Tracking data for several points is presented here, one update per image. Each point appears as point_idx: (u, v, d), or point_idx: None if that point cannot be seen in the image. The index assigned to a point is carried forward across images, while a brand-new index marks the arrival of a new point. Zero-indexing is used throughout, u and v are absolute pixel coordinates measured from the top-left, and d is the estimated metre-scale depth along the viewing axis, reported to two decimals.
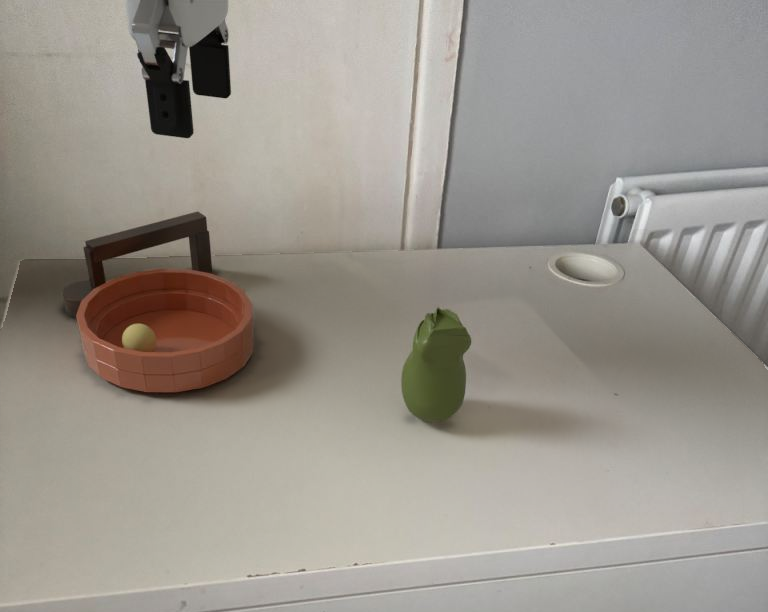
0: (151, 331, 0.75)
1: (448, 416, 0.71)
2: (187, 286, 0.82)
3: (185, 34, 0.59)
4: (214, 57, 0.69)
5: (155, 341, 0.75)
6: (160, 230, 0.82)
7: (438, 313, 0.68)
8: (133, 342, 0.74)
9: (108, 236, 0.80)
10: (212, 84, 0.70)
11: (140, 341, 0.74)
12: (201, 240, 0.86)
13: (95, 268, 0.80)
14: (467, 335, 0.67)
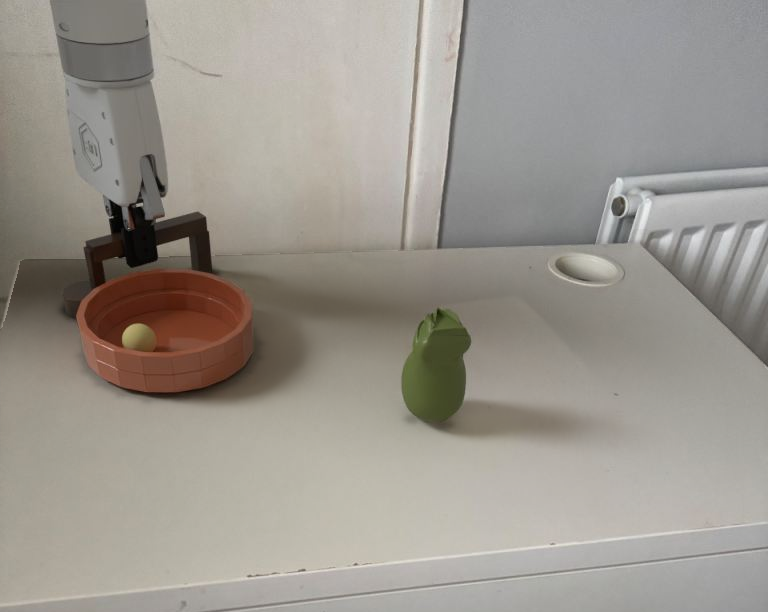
0: (151, 331, 0.75)
1: (448, 416, 0.71)
2: (187, 286, 0.82)
3: (167, 189, 0.76)
4: None
5: (155, 341, 0.75)
6: (160, 230, 0.82)
7: (438, 313, 0.68)
8: (133, 342, 0.74)
9: (108, 236, 0.80)
10: None
11: (140, 341, 0.74)
12: (201, 240, 0.86)
13: (95, 268, 0.80)
14: (467, 335, 0.67)
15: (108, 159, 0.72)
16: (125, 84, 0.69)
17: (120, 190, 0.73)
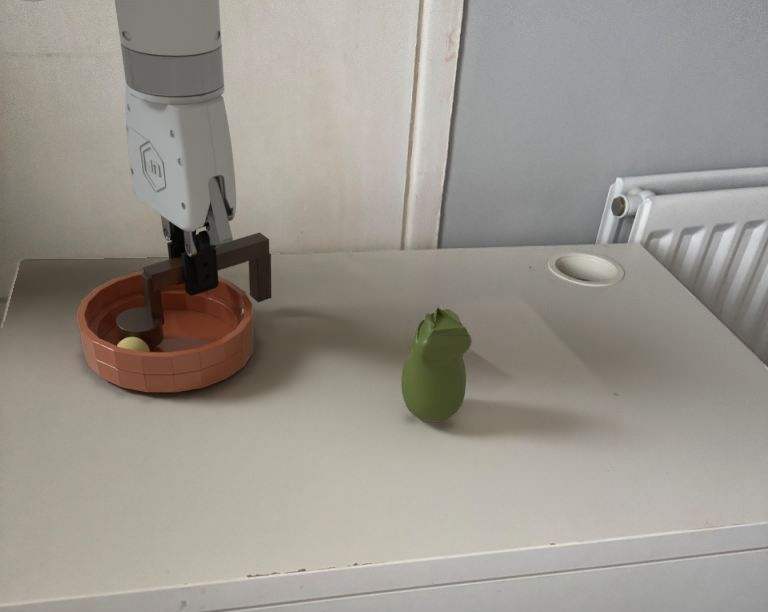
0: None
1: (448, 416, 0.71)
2: None
3: (235, 212, 0.70)
4: None
5: None
6: (222, 255, 0.76)
7: (438, 313, 0.68)
8: None
9: (167, 261, 0.74)
10: None
11: None
12: (262, 263, 0.80)
13: (153, 297, 0.74)
14: (467, 335, 0.67)
15: (174, 181, 0.66)
16: (196, 99, 0.63)
17: (186, 214, 0.67)
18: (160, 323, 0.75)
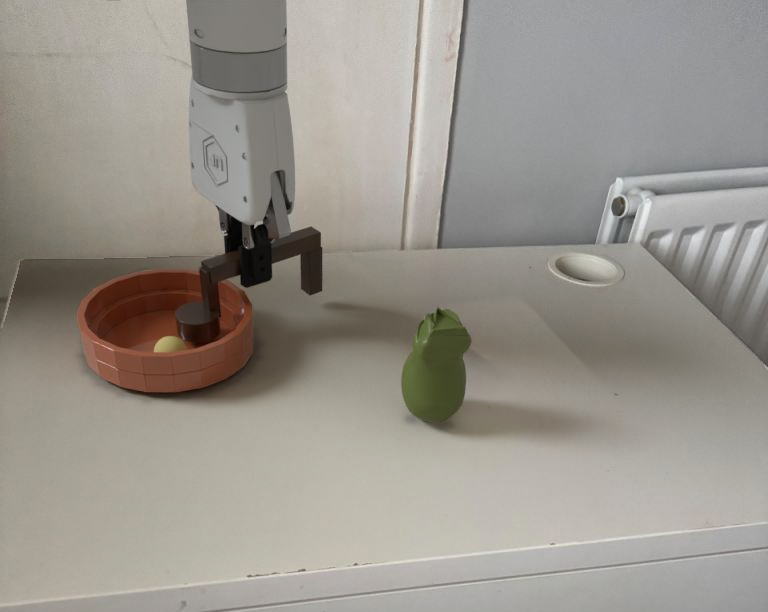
0: (172, 348, 0.73)
1: (448, 416, 0.71)
2: (187, 286, 0.82)
3: (293, 206, 0.71)
4: None
5: None
6: (276, 248, 0.78)
7: (438, 313, 0.68)
8: (154, 350, 0.74)
9: (224, 255, 0.76)
10: None
11: None
12: (314, 257, 0.81)
13: (211, 290, 0.76)
14: (467, 335, 0.67)
15: (237, 175, 0.68)
16: (262, 95, 0.65)
17: (248, 207, 0.69)
18: (217, 316, 0.77)
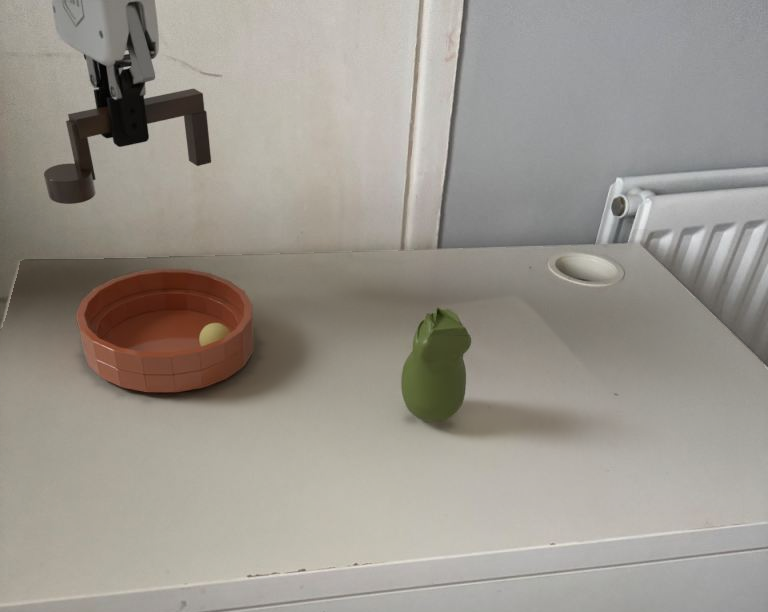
0: None
1: (448, 416, 0.71)
2: (187, 286, 0.82)
3: (157, 47, 0.68)
4: None
5: None
6: (152, 106, 0.74)
7: (438, 313, 0.68)
8: None
9: (94, 110, 0.72)
10: None
11: None
12: (198, 121, 0.78)
13: (80, 146, 0.72)
14: (467, 335, 0.67)
15: (91, 6, 0.64)
16: None
17: (104, 43, 0.65)
18: (89, 175, 0.73)
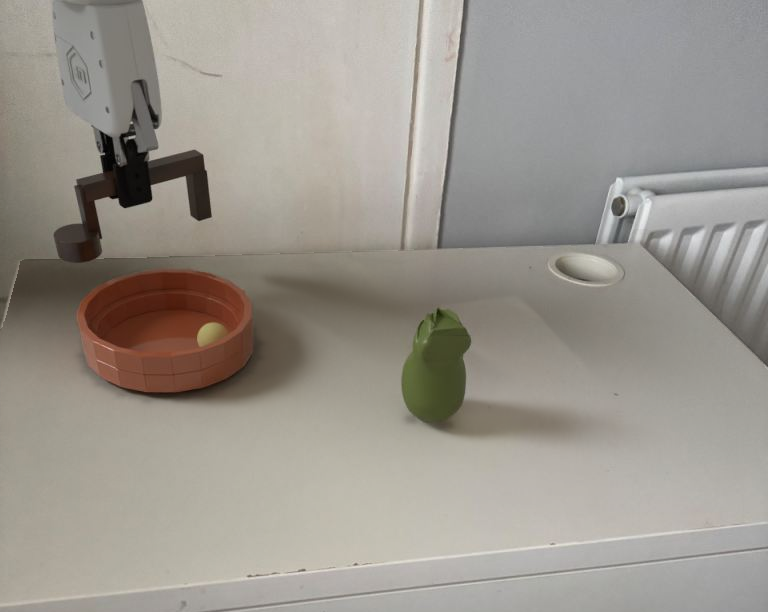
0: None
1: (448, 416, 0.71)
2: (187, 286, 0.82)
3: (160, 119, 0.72)
4: None
5: None
6: (155, 168, 0.78)
7: (438, 313, 0.68)
8: None
9: (100, 174, 0.76)
10: None
11: None
12: (199, 180, 0.82)
13: (88, 209, 0.76)
14: (467, 335, 0.67)
15: (97, 84, 0.68)
16: (114, 1, 0.65)
17: (110, 118, 0.69)
18: (96, 236, 0.77)
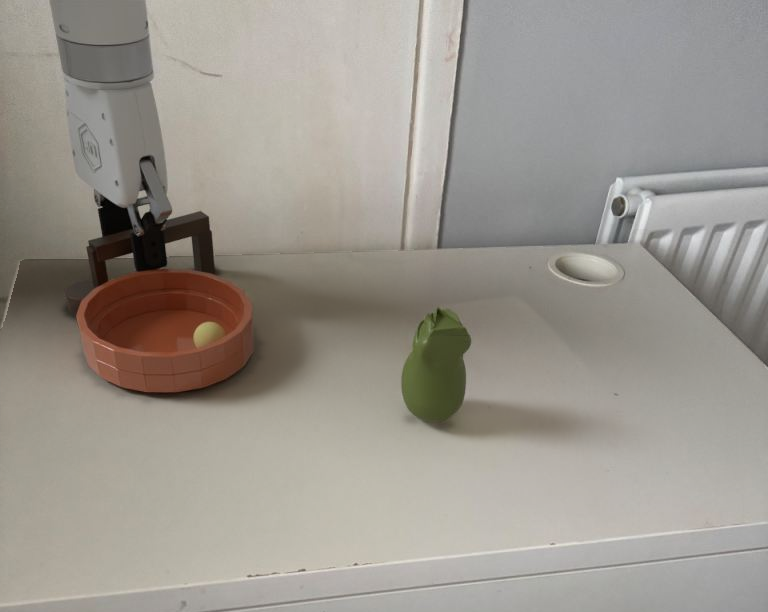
0: None
1: (448, 416, 0.71)
2: (187, 286, 0.82)
3: (166, 189, 0.76)
4: (122, 214, 0.83)
5: None
6: (163, 230, 0.82)
7: (438, 313, 0.68)
8: None
9: (111, 236, 0.80)
10: None
11: None
12: (204, 240, 0.86)
13: (98, 268, 0.80)
14: (467, 335, 0.67)
15: (108, 160, 0.73)
16: (125, 85, 0.69)
17: (120, 191, 0.73)
18: None
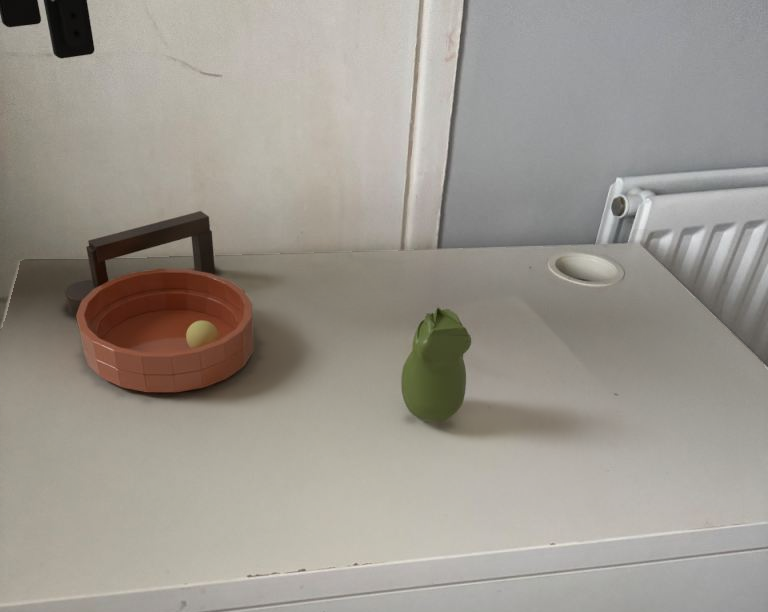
0: (215, 341, 0.76)
1: (448, 416, 0.71)
2: (187, 286, 0.82)
3: None
4: None
5: (209, 333, 0.75)
6: (163, 230, 0.82)
7: (438, 313, 0.68)
8: None
9: (111, 236, 0.80)
10: (24, 11, 0.70)
11: (216, 328, 0.77)
12: (204, 240, 0.86)
13: (98, 268, 0.80)
14: (467, 335, 0.67)
15: None
16: None
17: None
18: None
